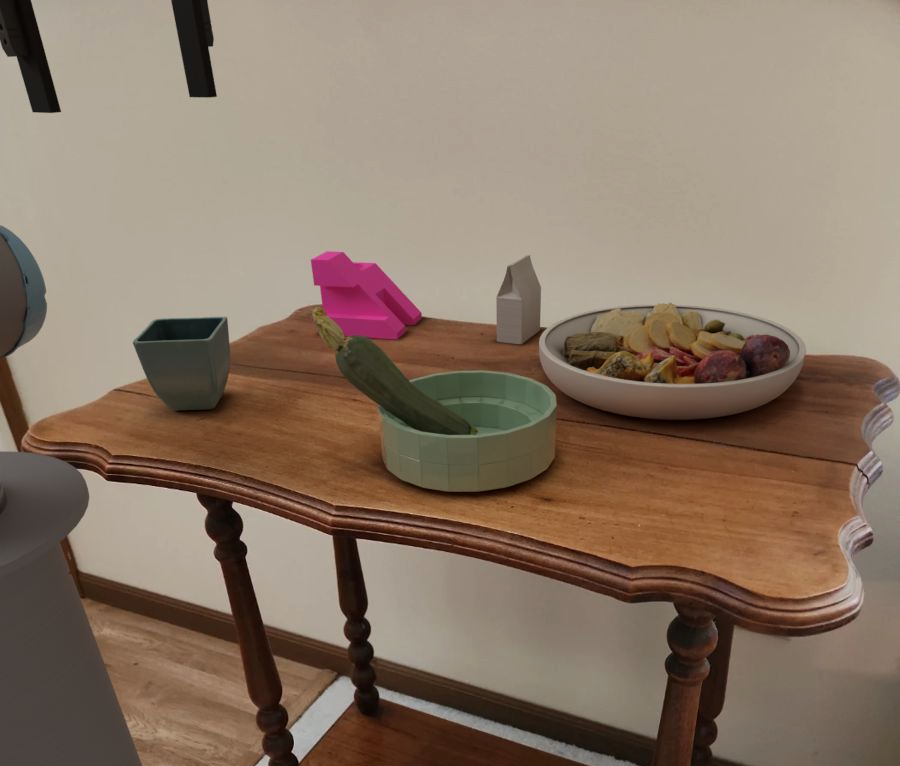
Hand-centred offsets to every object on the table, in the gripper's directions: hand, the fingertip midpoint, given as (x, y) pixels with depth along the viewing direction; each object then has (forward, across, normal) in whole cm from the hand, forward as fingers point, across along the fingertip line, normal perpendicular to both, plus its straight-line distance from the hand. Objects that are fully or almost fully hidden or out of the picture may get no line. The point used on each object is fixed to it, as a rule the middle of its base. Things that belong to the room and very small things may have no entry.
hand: (130, 104), depth 62 cm
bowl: (+32, +48, -24) cm, 62 cm away
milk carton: (+32, +53, +1) cm, 62 cm away
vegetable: (+31, +18, -18) cm, 40 cm away
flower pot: (+32, +11, +18) cm, 38 cm away
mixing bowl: (+32, +18, -18) cm, 41 cm away
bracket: (+32, +45, +22) cm, 59 cm away
